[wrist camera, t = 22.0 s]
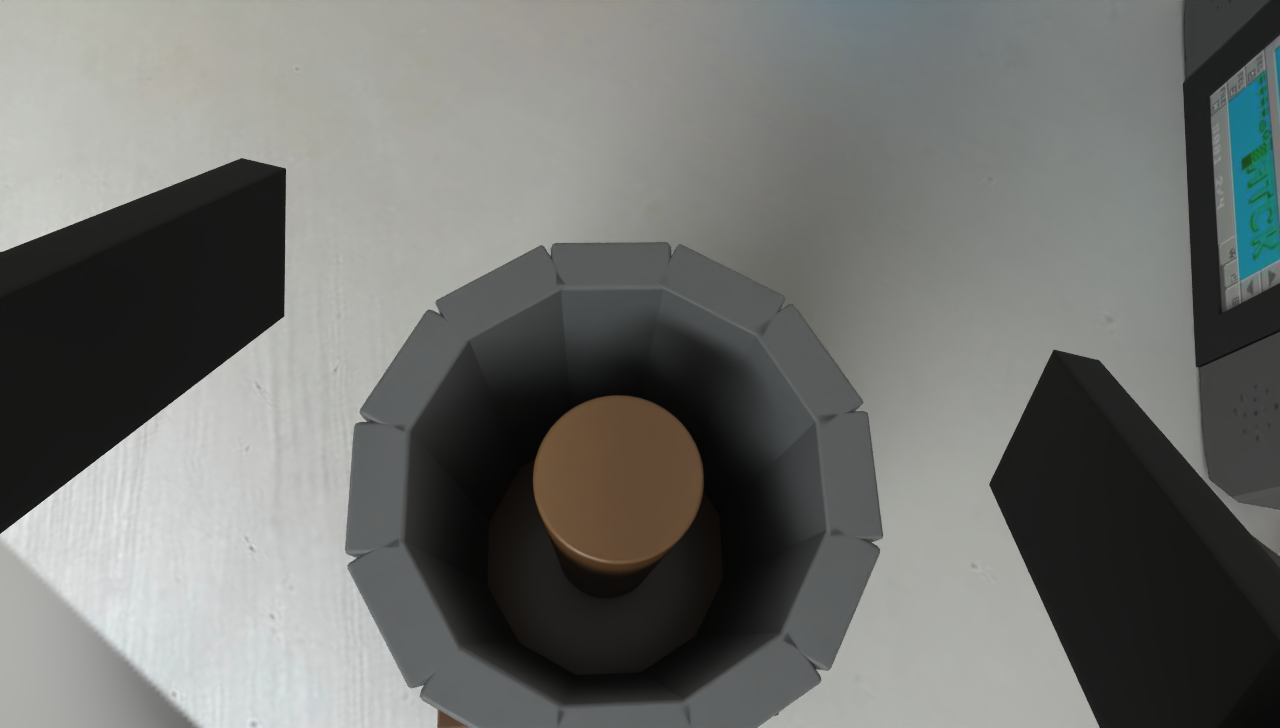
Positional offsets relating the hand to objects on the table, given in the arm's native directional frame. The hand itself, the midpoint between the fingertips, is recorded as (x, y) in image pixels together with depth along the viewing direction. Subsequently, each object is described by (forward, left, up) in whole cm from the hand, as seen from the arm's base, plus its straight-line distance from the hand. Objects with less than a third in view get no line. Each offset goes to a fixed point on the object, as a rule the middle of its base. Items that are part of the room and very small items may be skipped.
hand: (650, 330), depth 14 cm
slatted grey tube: (-1, -2, -13) cm, 13 cm away
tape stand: (-1, -2, -15) cm, 15 cm away
